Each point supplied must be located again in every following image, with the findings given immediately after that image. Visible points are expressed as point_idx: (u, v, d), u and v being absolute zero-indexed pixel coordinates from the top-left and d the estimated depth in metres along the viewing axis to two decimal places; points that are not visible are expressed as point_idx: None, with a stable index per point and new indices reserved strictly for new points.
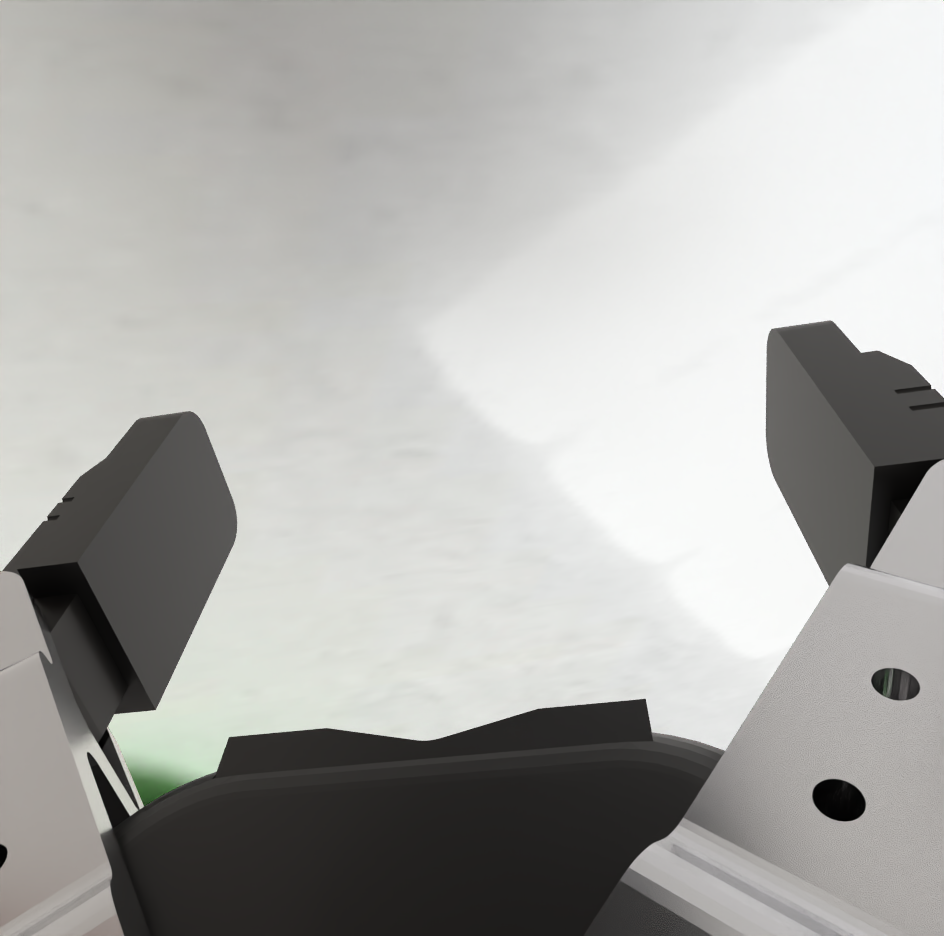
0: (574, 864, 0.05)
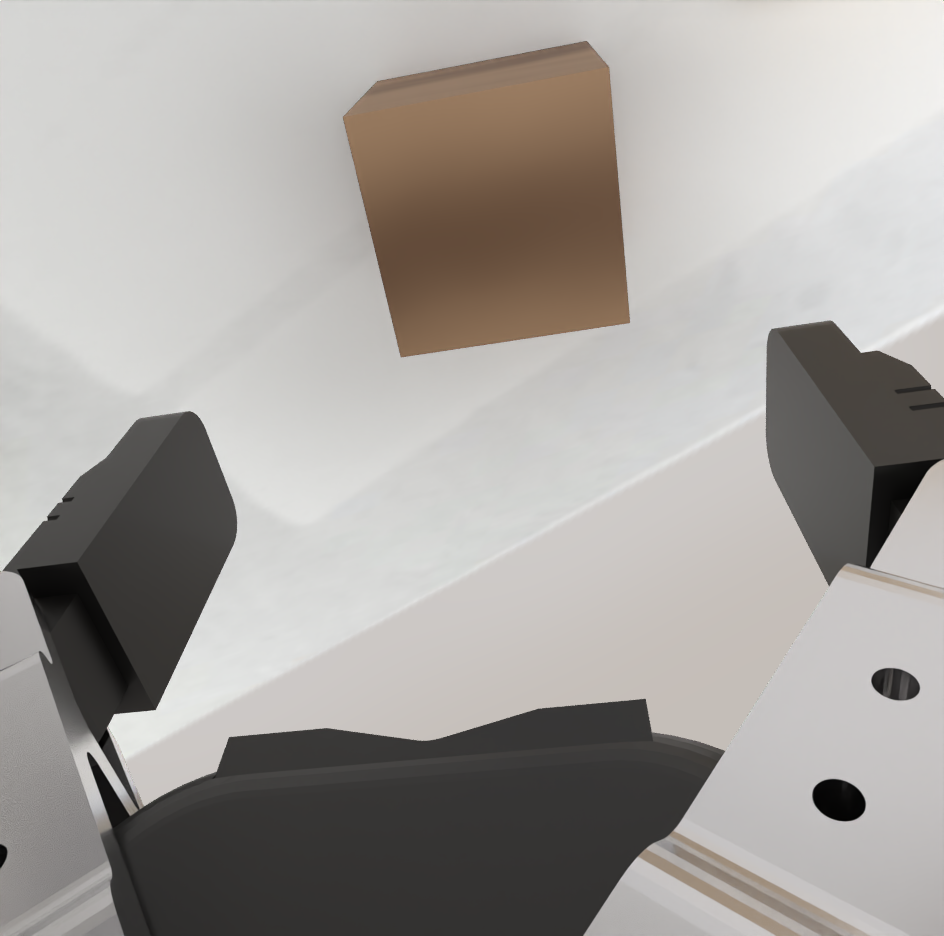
0: (574, 864, 0.05)
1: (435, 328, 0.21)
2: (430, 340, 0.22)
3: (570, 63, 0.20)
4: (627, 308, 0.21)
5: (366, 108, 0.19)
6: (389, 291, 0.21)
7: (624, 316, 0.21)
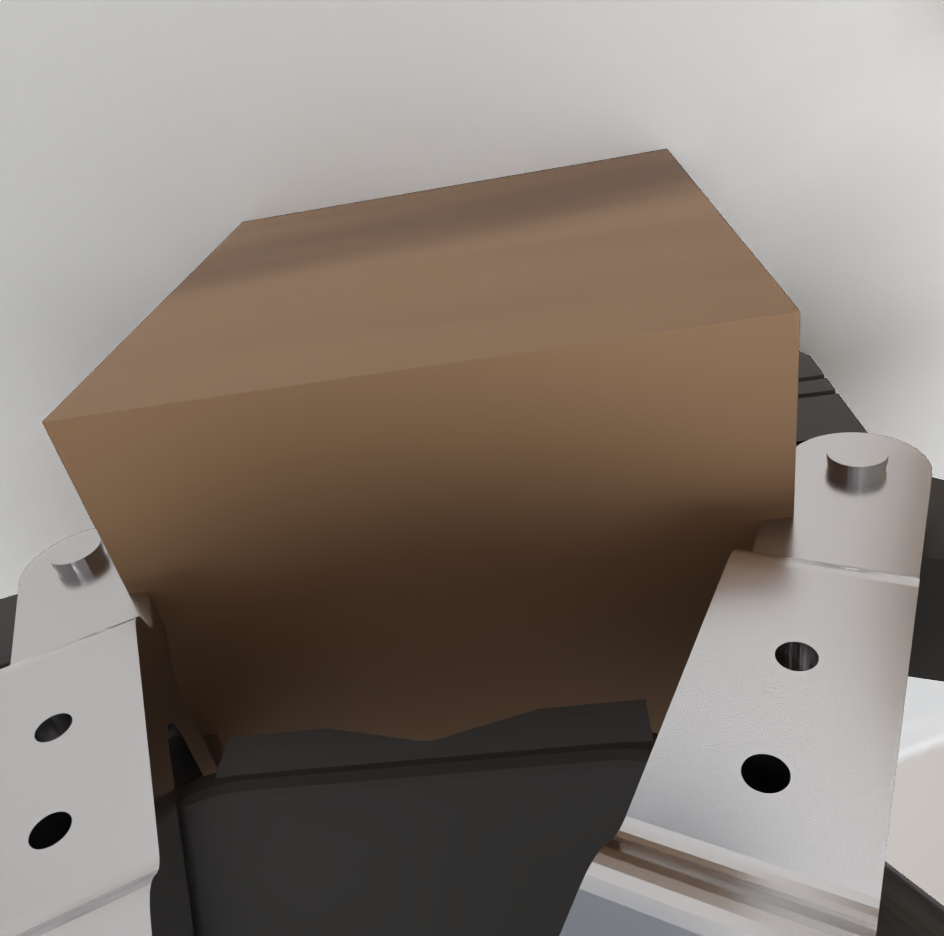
0: (574, 864, 0.05)
1: None
2: None
3: (661, 251, 0.08)
4: None
5: (126, 378, 0.07)
6: None
7: None
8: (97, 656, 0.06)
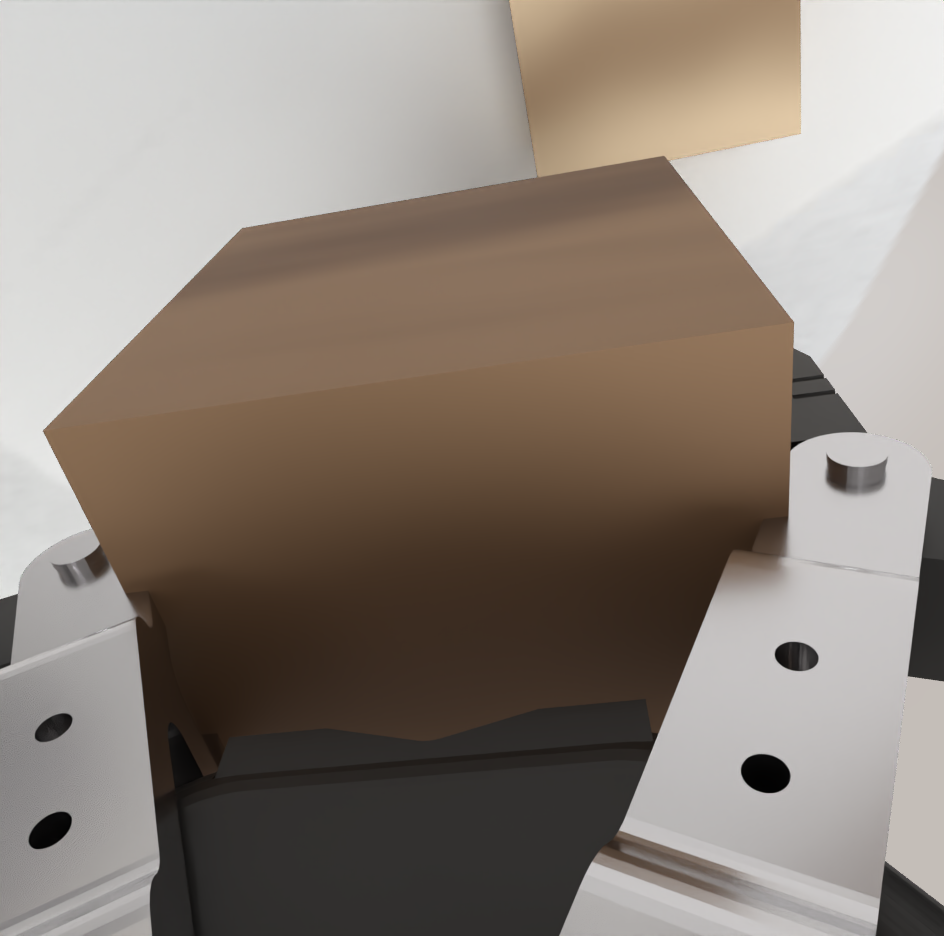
0: (574, 864, 0.05)
1: None
2: None
3: (657, 260, 0.08)
4: None
5: (126, 387, 0.07)
6: None
7: None
8: (97, 656, 0.06)
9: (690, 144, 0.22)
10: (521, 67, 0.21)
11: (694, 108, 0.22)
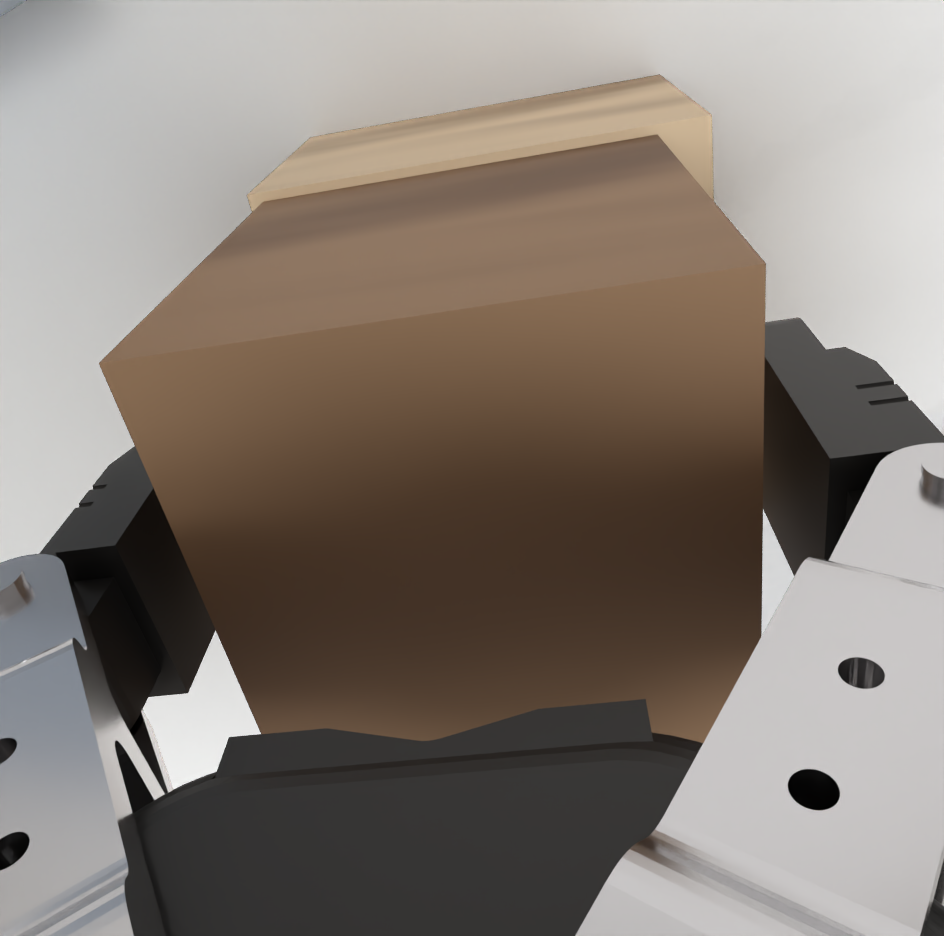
0: (574, 863, 0.05)
1: None
2: None
3: (648, 219, 0.09)
4: None
5: (170, 328, 0.08)
6: (248, 684, 0.10)
7: None
8: (36, 679, 0.06)
9: None
10: None
11: None
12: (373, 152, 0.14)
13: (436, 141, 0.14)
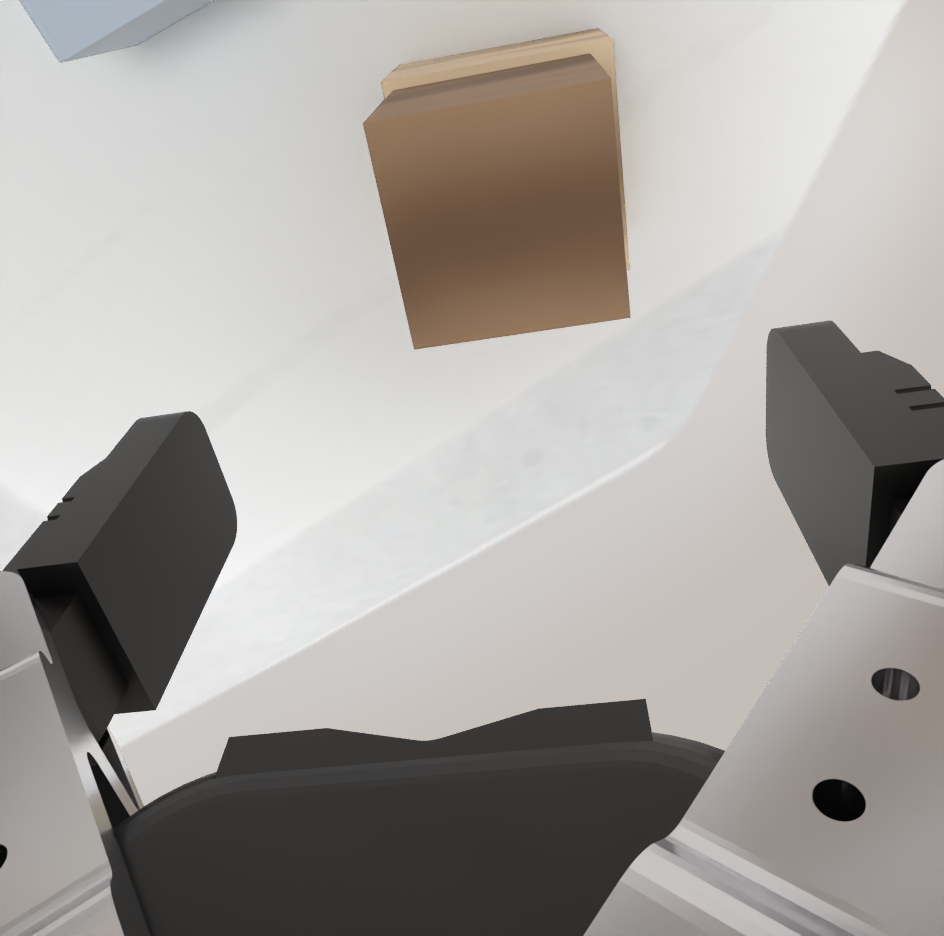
0: (574, 864, 0.05)
1: (447, 322, 0.23)
2: (441, 333, 0.23)
3: (575, 74, 0.21)
4: (628, 303, 0.22)
5: (384, 115, 0.21)
6: (404, 286, 0.22)
7: (625, 311, 0.22)
8: (4, 693, 0.06)
9: None
10: None
11: None
12: (441, 65, 0.26)
13: (475, 59, 0.26)
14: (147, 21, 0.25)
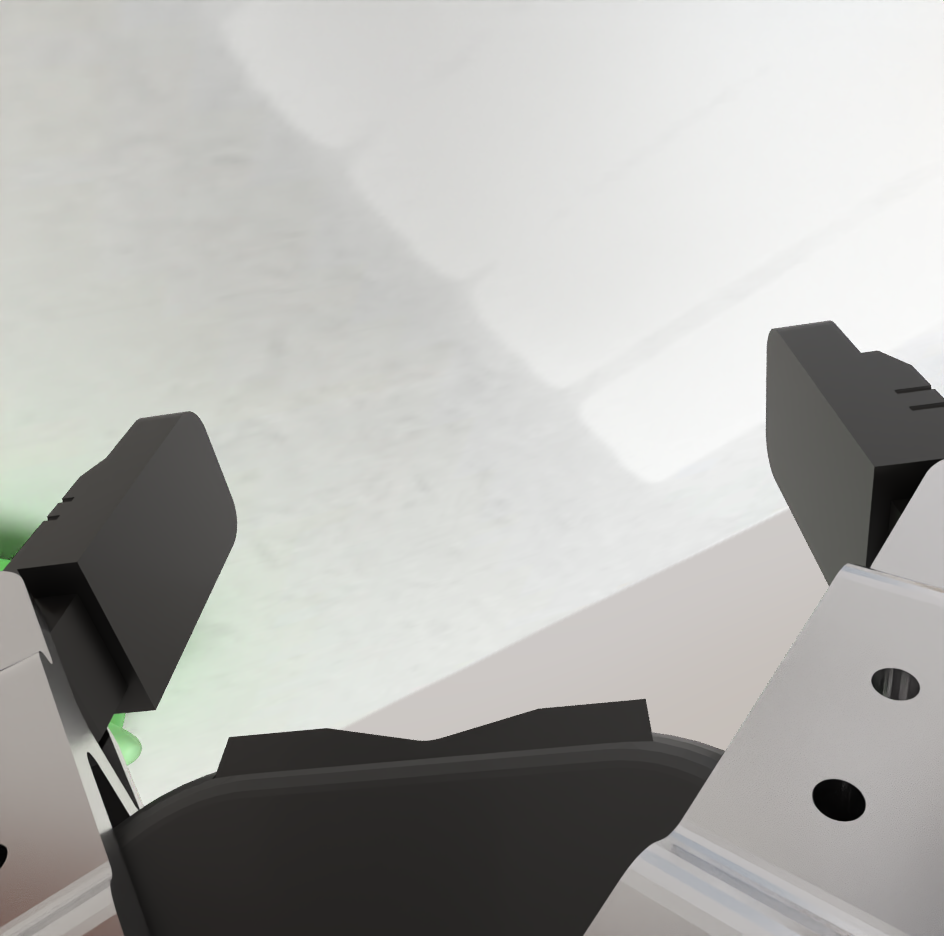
0: (574, 863, 0.05)
1: None
2: None
3: None
4: None
5: None
6: None
7: None
8: (3, 693, 0.06)
9: None
10: None
11: None
12: None
13: None
14: None
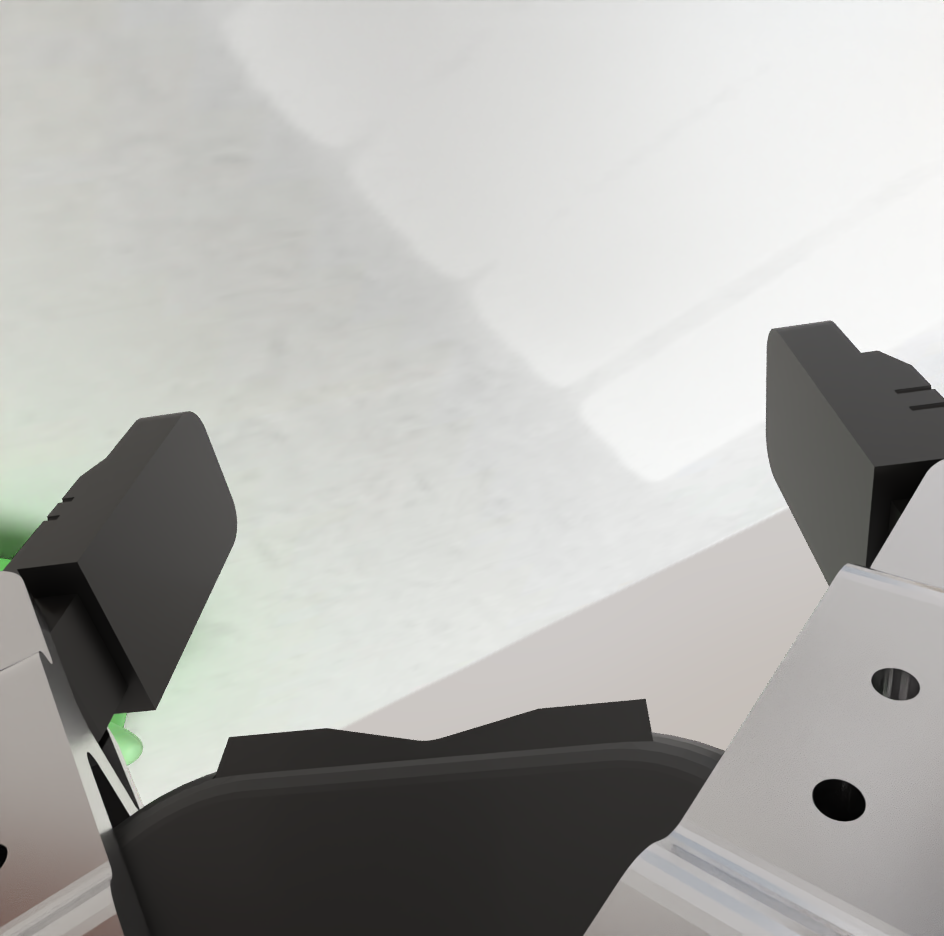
0: (574, 864, 0.05)
1: None
2: None
3: None
4: None
5: None
6: None
7: None
8: (3, 693, 0.06)
9: None
10: None
11: None
12: None
13: None
14: None
